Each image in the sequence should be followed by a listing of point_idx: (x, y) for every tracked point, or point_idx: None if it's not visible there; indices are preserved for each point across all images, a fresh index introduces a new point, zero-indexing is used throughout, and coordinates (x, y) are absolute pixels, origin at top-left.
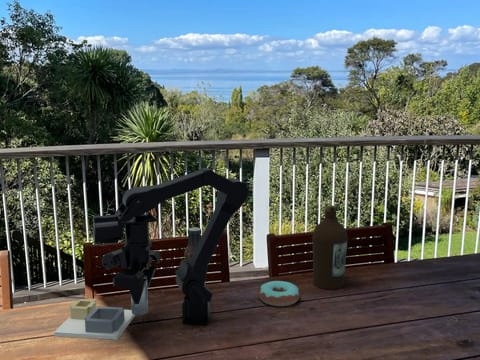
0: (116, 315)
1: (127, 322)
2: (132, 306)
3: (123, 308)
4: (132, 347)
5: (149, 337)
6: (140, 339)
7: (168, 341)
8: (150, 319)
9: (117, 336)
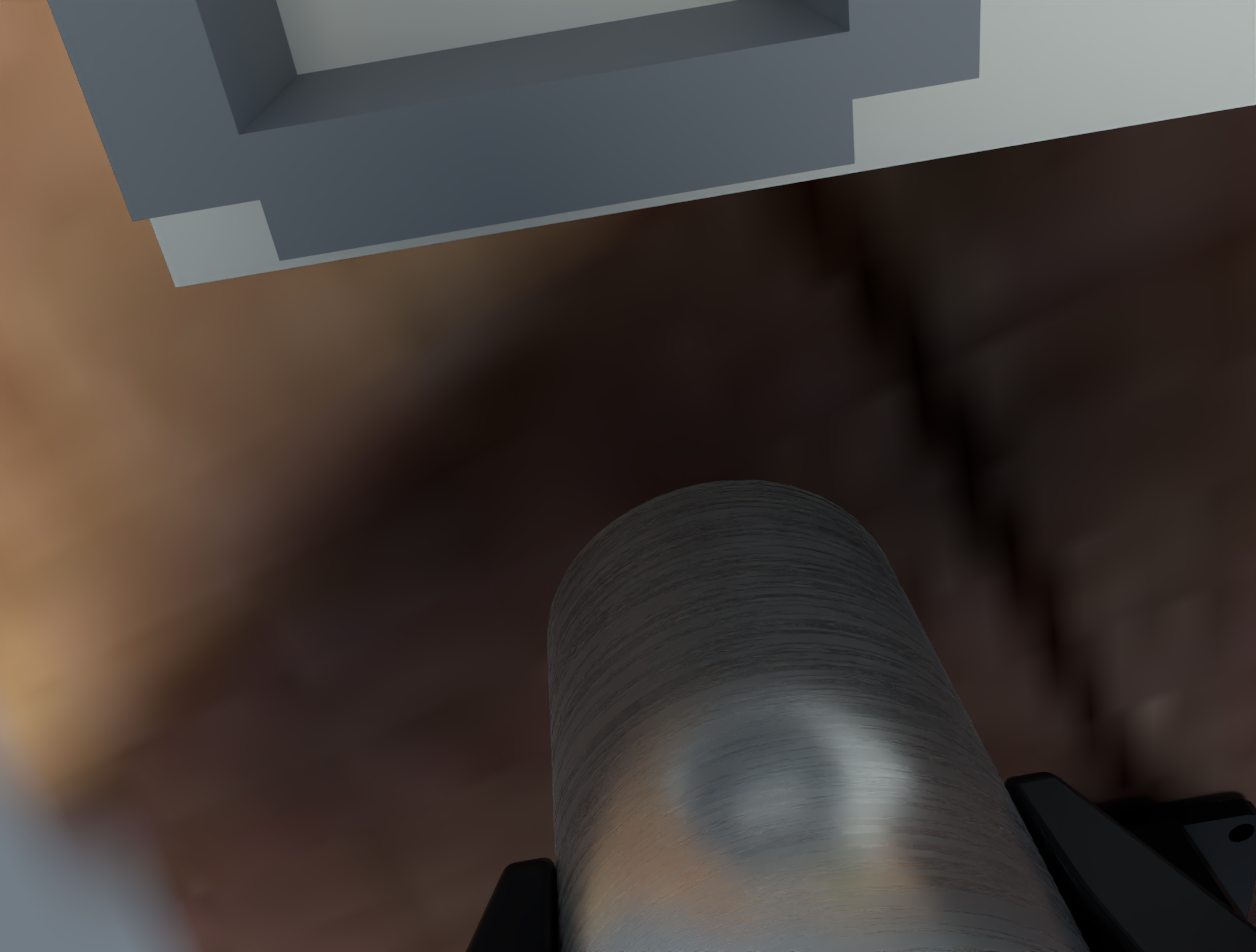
0: (506, 137)
1: (743, 187)
2: (590, 676)
3: (965, 74)
4: (120, 586)
5: (473, 657)
6: (373, 579)
7: (462, 874)
8: (1022, 428)
9: (198, 278)
